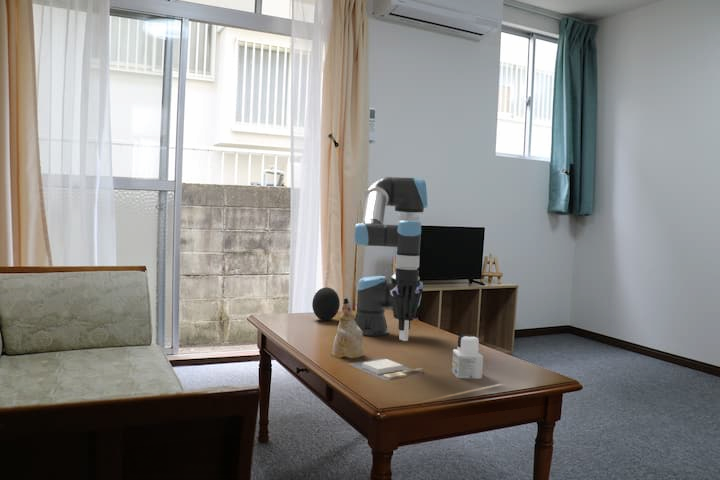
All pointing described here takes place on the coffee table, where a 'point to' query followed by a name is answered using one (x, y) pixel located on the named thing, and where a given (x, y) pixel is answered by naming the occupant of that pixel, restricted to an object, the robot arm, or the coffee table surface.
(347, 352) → the figurine
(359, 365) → the mat
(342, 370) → the coffee table surface
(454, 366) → the container
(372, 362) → the tile
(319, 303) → the decorative egg
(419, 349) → the coffee table surface
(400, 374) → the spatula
